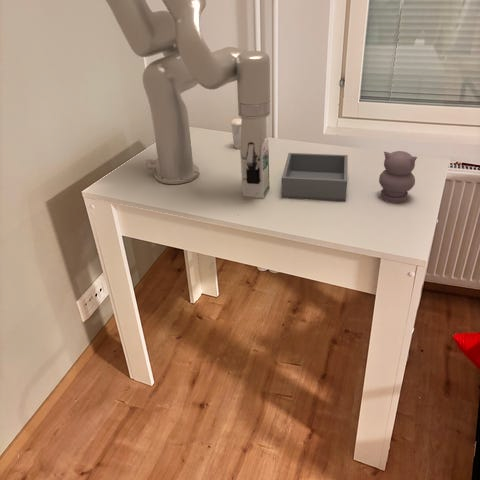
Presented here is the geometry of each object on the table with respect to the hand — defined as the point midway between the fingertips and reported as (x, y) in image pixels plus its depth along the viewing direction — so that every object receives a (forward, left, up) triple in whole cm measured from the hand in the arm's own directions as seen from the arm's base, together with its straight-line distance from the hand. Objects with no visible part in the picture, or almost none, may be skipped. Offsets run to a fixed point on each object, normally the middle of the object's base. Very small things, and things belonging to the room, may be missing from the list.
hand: (255, 176), depth 120 cm
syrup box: (0, 0, -5) cm, 5 cm away
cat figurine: (+35, +2, -5) cm, 35 cm away
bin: (+15, +6, -5) cm, 17 cm away
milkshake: (-10, +30, -5) cm, 32 cm away
